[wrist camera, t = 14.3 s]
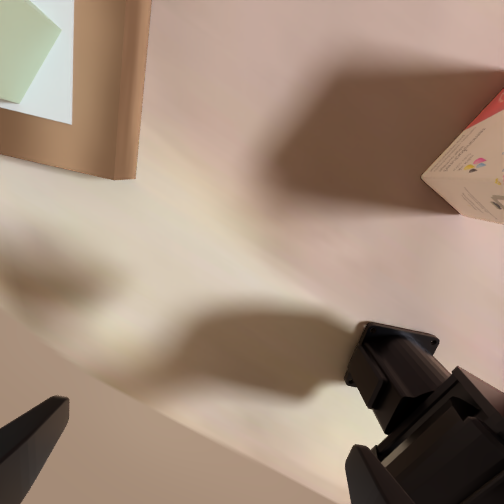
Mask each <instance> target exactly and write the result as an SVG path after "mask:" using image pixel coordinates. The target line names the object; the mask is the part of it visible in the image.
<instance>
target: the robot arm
mask: <svg viewBox="0 0 504 504" xmlns="http://www.w3.org/2000/svg"><path fill="white" fill-rule="evenodd" d="M372 328H374V329H373V330H371V329H372ZM431 341H432V342H431ZM439 342H440V341H439V339H438V338H437V337H436V336H434V335H431V334H426V333H421V332H416V331H411V330H406V329H401V328H397V327H392V326H387V325H382V324H377V323H369V324H367V325H366V327H365V329H364V332H363V334H362V336H361V339H360V341H359V344H358V345H357V346H356V349H355V351H354V353H353V356H352V358H351V361H350V363H349V365H348V370H347V372H346V375H345V377H344V381H345V383H346V384H347V385H348V386H352V387H357V388H358V390H359V392H360V394H361V396H362V398H363V400H364V402H365V404H366V406H367V407H368V408H369V409H372V410H373V412H374V414H375V416H376V418H377V420H378V422H379V424H380V425H381V427H382V429H383V431H384V433H385V434H387V435H388V436H387V437H386V438H385V439H384V440H383V441H382V442H381V443H380V444H379V445H378V446H377V445H375V446H374V447H373V448H372V449H371V450H370V449H369V448H368V447H366V446H363V445H357V444H355V445H353V447H352V449H351V451H350V453H349V455H348V457H347V459H346V463H345V471H346V476H347V482H348V488H349V494H350V499H351V504H504V393H503V392H501V391H500V390H498V389H496V388H494V387H493V386H491V385H489V384H488V383H486V382H484V381H483V380H481V379H479V378H477V377H476V376H474V375H472V374H471V373H469V372H467V371H466V370H464V369H462V368H460V367H459V366H457V367H456V368H455V369H454V370H453V371H452V374H450V373H449V372H448V371H447V370H446V369H445V368H444V367H443V365H442V364H441V363H440V362H439V361H438V360H437V359H436V358H435V357H434V356H433V354H434V352H435V350H436V348H437V347H438V345H439ZM351 379H352V380H351ZM68 419H69V398H67V397H64V396H52V397H50V398H49V399H47V400H45V401H44V402H42V403H40V404H39V405H37V406H36V407H34V408H32V409H31V410H29V411H28V412H26V413H24V414H23V415H21V416H20V417H18V418H16V419H15V420H13V421H11V422H10V423H8V424H7V425H5V426H4V427H2V428H0V504H20V503H21V502H22V500H23V499H24V497H25V496H26V494H27V493H28V491H29V490H30V488H31V486H32V485H33V483H34V481H35V480H36V478H37V476H38V474H39V473H40V471H41V469H42V467H43V466H44V464H45V462H46V460H47V458H48V457H49V455H50V453H51V452H52V450H53V448H54V446H55V444H56V443H57V441H58V439H59V437H60V436H61V434H62V432H63V430H64V429H65V427H66V425H67V423H68Z"/></svg>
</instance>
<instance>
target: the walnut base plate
mask: <svg viewBox="0 0 504 504" xmlns="http://www.w3.org/2000/svg"><path fill="white" fill-rule="evenodd" d="M30 1H31V2H32V3H33V4H34V5H35V6H36V7H38V8H39V9H40V10H41V11H42V12H43V13H44V14H45V15H46V16H47V17H48V18H49V19H50V20H52V21H53V22H54V23H55V24H56V25H57V26H58V27H59V28H60V29H61V30H62V31H61V33H60V35H59V36H58V38H57V40H56V41H55V43H54V45H53V47H52V48H51V50H50V52H49V54H48V55H47V57H46V59H45V60H44V62H43V64H42V66H41V67H40V69H39V71H38V73H37V74H36V76H35V78H34V80H33V81H32V83H31V85H30V86H29V88H28V90H27V92H26V93H25V95H24V97H23V99H22V100H21V102H20V104H18V103H15V102H11V101H8V100H5V99H1V98H0V154H3V155H7V156H11V157H16V158H20V159H24V160H29V161H33V162H37V163H42V164H46V165H50V166H55V167H59V168H63V169H68V170H72V171H77V172H81V173H85V174H90V175H94V176H98V177H103V178H107V179H111V180H124V179H135V178H136V167H137V156H138V145H139V134H140V123H141V112H142V101H143V90H144V79H145V68H146V57H147V46H148V35H149V24H150V13H151V2H152V0H30Z"/></svg>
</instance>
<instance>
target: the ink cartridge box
mask: <svg viewBox="0 0 504 504" xmlns="http://www.w3.org/2000/svg"><path fill="white" fill-rule="evenodd" d="M421 179H422V180H423V181H424V182H425V183H427V184H428V185H429V186H430V187H431V188H432V189H433V190H435V191H436V192H437V193H438V194H439V195H440V196H441V197H442V198H444V199H445V200H446V201H447V202H448V203H449V204H450V205H451V206H452V207H453V208H455V209H456V210H457V211H458V212H459V213H460V214H461V215H463V216H466V217H470V218H475V219H480V220H485V221H489V222H494V223H499V224H503V225H504V88H503V89H502V90H501V91H500V93H499V94H498V95H497V96H496V97H495V98H494V99H493V100H492V101H491V102H490V103H489V104H488V105H487V106H486V107H485V108H484V109H483V110H482V112H481V113H480V114H479V115H478V116H477V117H476V118H475V119H474V120H473V121H472V122H471V123H470V124H469V125H468V127H467V128H466V129H465V130H464V131H463V132H462V133H461V134H460V135H459V136H458V137H457V138H456V139H455V140H454V141H453V143H452V144H451V145H450V146H449V147H448V148H447V149H446V150H445V151H444V152H443V153H442V154H441V155H440V156H439V157H438V158H437V159H436V161H435V162H434V163H433V164H432V165H431V166H430V167H429V168H428V169H427V170H426V171H425V172H424V173H423V175H422V176H421Z"/></svg>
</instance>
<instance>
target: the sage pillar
mask: <svg viewBox="0 0 504 504" xmlns="http://www.w3.org/2000/svg"><path fill="white" fill-rule="evenodd" d="M61 31H62V30H61V29H60V28H59V27H58V26H57V25H56V24H55V23H54V22H53V21H52V20H50V19H49V18H48V17H47V16H46V15H45V14H44V13H43V12H42V11H41V10H40V9H39V8H38V7H36V6H35V5H34V4H33V3H32V2H31V1H30V0H0V98H1V99H5V100H8V101H11V102H15V103H18V104H20V102H21V100H22V99H23V97H24V95H25V93H26V92H27V90H28V88H29V86H30V85H31V83H32V81H33V80H34V78H35V76H36V74H37V73H38V71H39V69H40V67H41V66H42V64H43V62H44V60H45V59H46V57H47V55H48V54H49V52H50V50H51V48H52V47H53V45H54V43H55V41H56V40H57V38H58V36H59V35H60V33H61Z"/></svg>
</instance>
